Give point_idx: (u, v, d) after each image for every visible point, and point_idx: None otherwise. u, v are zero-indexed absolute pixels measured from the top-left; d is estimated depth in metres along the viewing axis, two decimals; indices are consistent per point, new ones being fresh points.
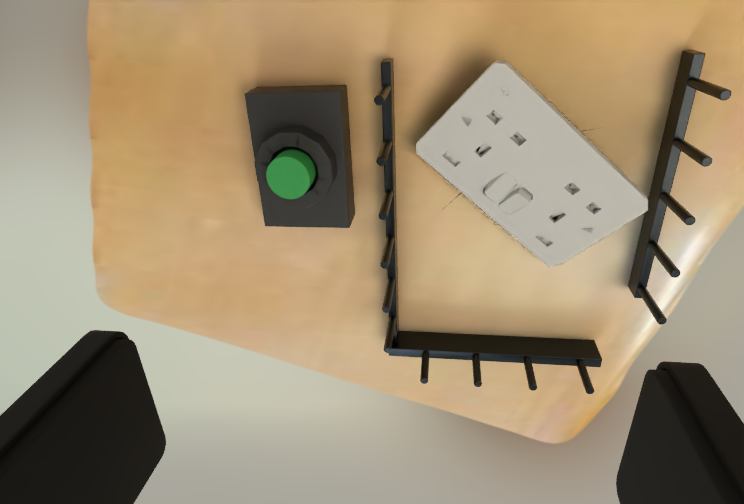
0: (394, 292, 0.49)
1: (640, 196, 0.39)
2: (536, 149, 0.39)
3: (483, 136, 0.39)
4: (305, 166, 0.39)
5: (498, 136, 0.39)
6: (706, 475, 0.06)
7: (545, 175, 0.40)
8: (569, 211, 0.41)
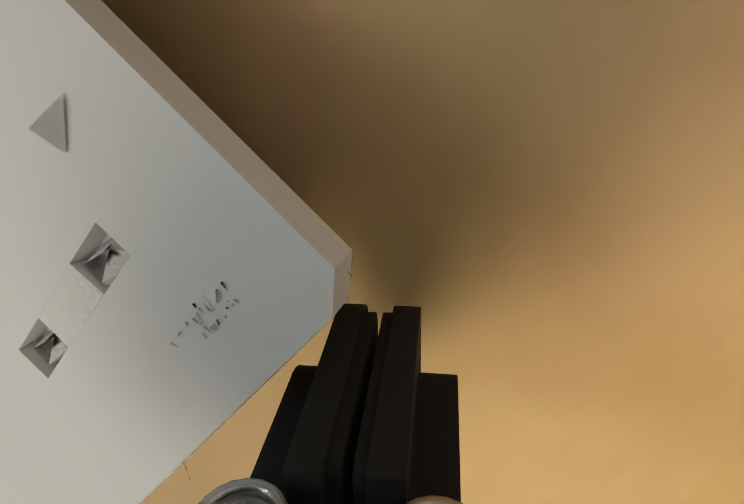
0: None
1: None
2: (29, 408, 0.10)
3: (11, 207, 0.08)
4: None
5: (31, 274, 0.09)
6: (370, 383, 0.08)
7: None
8: None
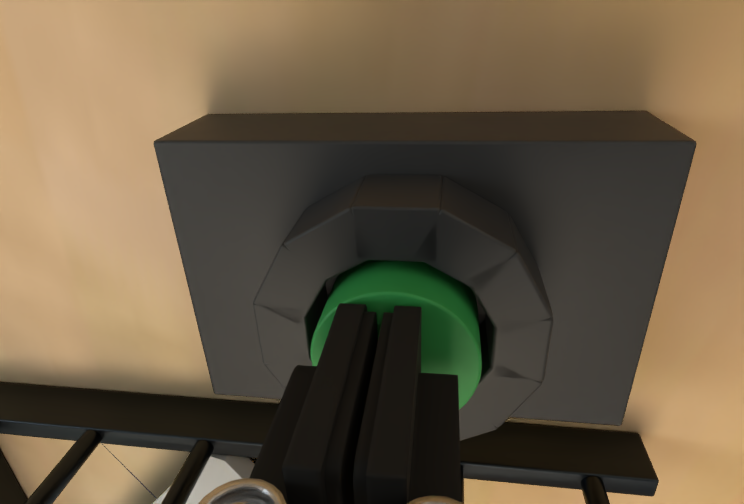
0: (62, 437, 0.19)
1: None
2: None
3: None
4: None
5: None
6: (370, 383, 0.08)
7: None
8: None
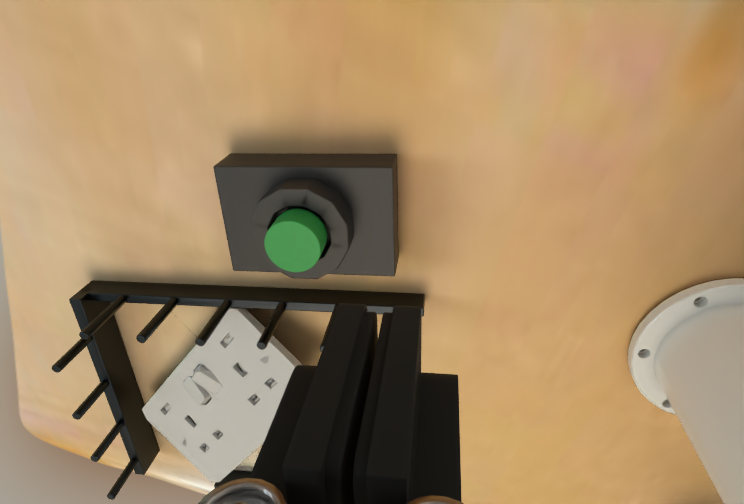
0: (159, 302, 0.40)
1: (221, 477, 0.46)
2: (247, 412, 0.42)
3: (252, 372, 0.41)
4: None
5: (254, 384, 0.41)
6: (370, 383, 0.08)
7: (225, 416, 0.43)
8: (197, 430, 0.45)
